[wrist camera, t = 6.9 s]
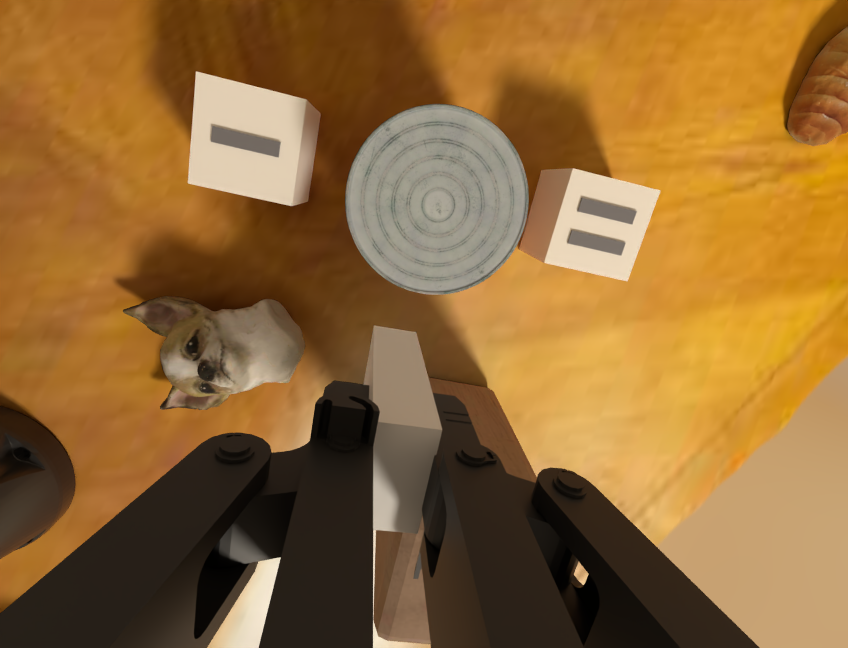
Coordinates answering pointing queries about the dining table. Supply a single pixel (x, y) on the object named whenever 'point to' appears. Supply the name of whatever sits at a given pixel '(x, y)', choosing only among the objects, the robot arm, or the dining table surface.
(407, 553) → the block
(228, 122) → the marked cube 2
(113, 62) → the dining table surface
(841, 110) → the pastry
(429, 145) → the canned food
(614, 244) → the marked cube 1
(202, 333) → the ceramic sculpture
